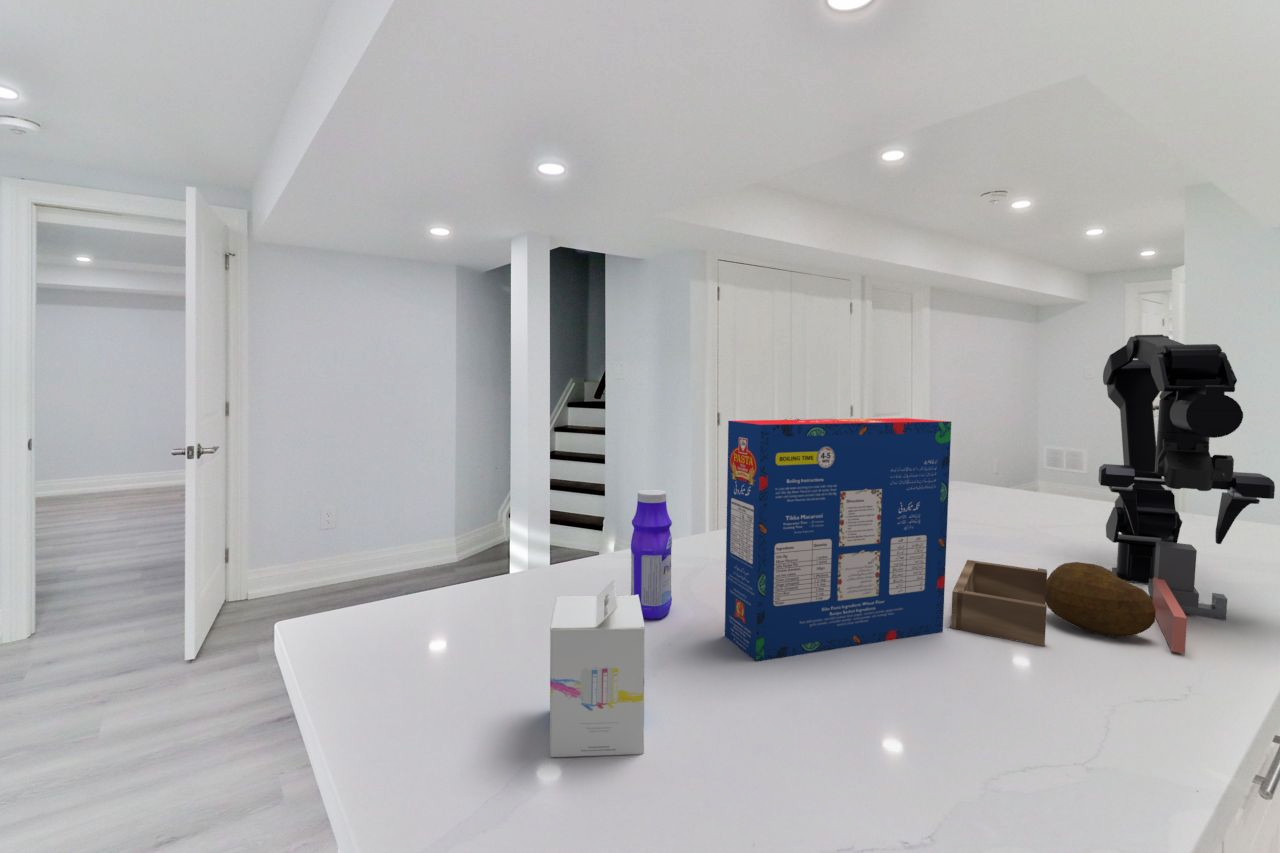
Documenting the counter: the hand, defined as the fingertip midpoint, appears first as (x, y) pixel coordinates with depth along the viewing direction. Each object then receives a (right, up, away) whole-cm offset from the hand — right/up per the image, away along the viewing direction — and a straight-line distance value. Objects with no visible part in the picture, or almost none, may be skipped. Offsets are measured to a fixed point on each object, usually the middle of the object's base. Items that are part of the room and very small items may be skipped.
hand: (1175, 538), depth 91 cm
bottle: (-76, -10, -2) cm, 77 cm away
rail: (-5, -10, +4) cm, 12 cm away
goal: (-27, -10, -2) cm, 29 cm away
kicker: (-5, -11, -7) cm, 13 cm away
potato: (-18, -11, -7) cm, 22 cm away
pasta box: (-53, -11, -9) cm, 54 cm away
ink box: (-82, -12, -32) cm, 89 cm away
